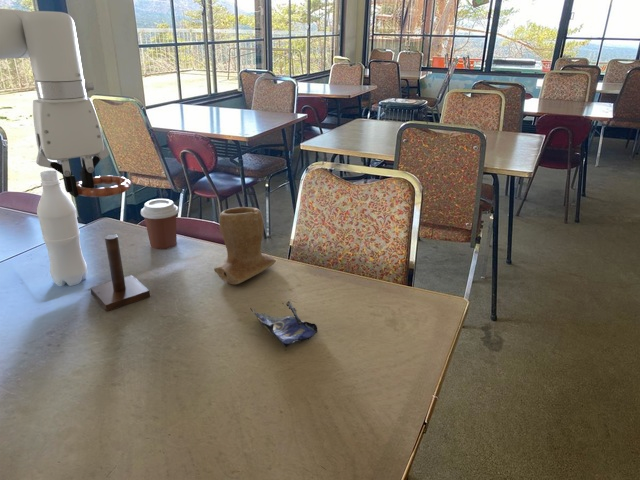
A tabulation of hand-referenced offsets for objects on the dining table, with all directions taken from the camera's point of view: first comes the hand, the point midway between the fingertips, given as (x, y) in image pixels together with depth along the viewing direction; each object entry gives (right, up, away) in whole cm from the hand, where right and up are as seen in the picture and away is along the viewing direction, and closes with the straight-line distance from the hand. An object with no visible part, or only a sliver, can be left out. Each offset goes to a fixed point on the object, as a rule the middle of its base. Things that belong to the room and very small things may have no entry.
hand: (81, 193), depth 89 cm
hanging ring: (+3, +2, +2) cm, 4 cm away
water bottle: (-10, -18, +17) cm, 27 cm away
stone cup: (+26, -16, +24) cm, 39 cm away
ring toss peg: (+2, -20, +12) cm, 24 cm away
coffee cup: (+4, -11, +35) cm, 37 cm away
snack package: (+38, -26, +1) cm, 46 cm away
